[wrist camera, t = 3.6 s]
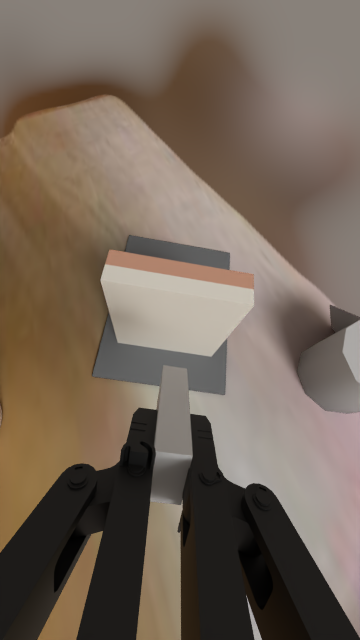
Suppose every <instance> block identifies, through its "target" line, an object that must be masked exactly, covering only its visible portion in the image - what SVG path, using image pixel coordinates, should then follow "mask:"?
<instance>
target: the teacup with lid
mask: <svg viewBox="0 0 360 640" xmlns="http://www.w3.org/2000/svg"><path fill="white" fill-rule="evenodd" d="M1 421H2V409H1V405H0V426H1Z"/></svg>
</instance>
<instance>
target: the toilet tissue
mask: <svg viewBox="0 0 360 640" xmlns="http://www.w3.org/2000/svg"><path fill="white" fill-rule="evenodd" d="M330 318H331V327H332V328H333V330H334V331H335V332H336V333H335V334H333V335H331V336H329V337H327V338H325V339H324V340H322V341H320V342H318V343H316V344H315V345H313V346H311V347H310V348H308V349H307V350H305V351H303V352H302V353H301V357H300V361H299V365H298V369H297V373H298V376H299V378H300V381H301V383H302V386H303V389H304V391H305V394H306V395H307V396H308V397H310V398H311V399H312V400H313V401H314V402H315V403H317V404H318V405H319V406H320V407H321V408H322V409H324V410H325V411H331V412H338V413H346V414H349V413H357V412H360V317H358V316H356V315H353V314H351V313H348V312H346V311H344V310H342V309H339V308H337V307H335V306H332V305H330Z"/></svg>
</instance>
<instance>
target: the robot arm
mask: <svg viewBox="0 0 360 640" xmlns="http://www.w3.org/2000/svg"><path fill="white" fill-rule="evenodd" d="M182 498H183V510H182V514H181V518H180V522H179V526H178V532H179V533H180V531H181V640H254V635H253V630H252V625H251V619H250V614H249V608H248V603H247V598H248V601H249V604H250V607H251V609H252V612H253V615H254V618H255V621H256V624H257V626H258V629H259V632H260V635H261V638H262V640H360V638H359V636H358V634H357V633H356V631H355V629H354V628H353V626H352V624H351V623H350V621H349V619H348V617H347V616H346V614H345V612H344V611H343V609H342V607H341V606H340V604H339V602H338V600H337V599H336V597H335V595H334V594H333V592H332V590H331V589H330V587H329V585H328V583H327V582H326V580H325V578H324V577H323V575H322V573H321V572H320V570H319V568H318V566H317V565H316V563H315V561H314V560H313V558H312V556H311V555H310V553H309V551H308V550H307V548H306V546H305V544H304V543H303V541H302V539H301V538H300V536H299V534H298V533H297V531H296V529H295V527H294V526H293V524H292V522H291V521H290V519H289V517H288V516H287V514H286V512H285V510H284V509H283V507H282V505H281V504H280V502H279V500H278V499H277V497H276V496H275V495H274V493H273V492H272V491H271V490H270V489H268V488H267V487H266V486H263V485H261V484H255V483H253V484H250V485H248V486H247V488H246V489H245V488H242V487H240V486H238V485H236V484H233V483H232V482H230V481H228V480H227V479H226V478H225V477H224V476H223V473H222V472H221V471H220V469H219V468H218V464H217V458H216V453H215V447H214V441H213V435H212V429H211V423H210V422H209V420H208V419H207V417H206V416H202V415H194V414H190V406H189V391H188V376H187V369H186V368H179V367H173V366H166V365H163V371H162V377H161V383H160V389H159V395H158V401H157V409H156V410H152V409H145V408H138V409H137V411H136V412H135V413H134V414H133V418H132V422H131V426H130V430H129V434H128V438H127V442H126V443H125V444H124V446H123V447H122V449H121V456H120V461H119V462H118V463H117V464H116V465H115V466H113V467H111V468H108V469H104V470H99V471H96V470H95V469H94V467H92V466H90V465H89V464H82V463H81V464H76V465H73V466H71V467H69V468H67V469H66V470H65V471H64V472H63V473H62V474H61V475H60V477H59V478H58V479H57V480H56V482H55V483H54V484H53V486H52V487H51V488H50V490H49V491H48V492H47V493H46V495H45V496H44V497H43V499H42V500H41V501H40V502H39V504H38V505H37V506H36V508H35V509H34V510H33V511H32V513H31V514H30V515H29V517H28V518H27V519H26V520H25V522H24V523H23V524H22V526H21V527H20V528H19V529H18V531H17V532H16V533H15V535H14V536H13V537H12V539H11V540H10V541H9V542H8V544H7V545H6V546H5V548H4V549H3V550H2V551H1V553H0V640H37V639H38V637H39V635H40V633H41V631H42V629H43V627H44V625H45V623H46V621H47V619H48V617H49V615H50V613H51V611H52V610H53V608H54V606H55V604H56V602H57V600H58V598H59V596H60V594H61V592H62V590H63V588H64V586H65V584H66V582H67V580H68V578H69V576H70V574H71V573H72V571H73V569H74V567H75V565H76V563H77V561H78V559H79V557H80V555H81V553H82V551H83V549H84V547H85V545H86V543H87V541H88V539H89V537H90V536H91V534H93V533H96V532H100V531H103V534H102V538H101V542H100V546H99V550H98V554H97V558H96V562H95V566H94V571H93V575H92V579H91V583H90V587H89V591H88V595H87V599H86V603H85V607H84V611H83V615H82V619H81V623H80V627H79V631H78V635H77V639H76V640H136V634H137V624H138V615H139V605H140V595H141V585H142V575H143V565H144V555H145V546H146V536H147V526H148V516H149V506H150V501H151V502H160V503H169V504H178V505H181V502H182ZM246 595H247V598H246Z"/></svg>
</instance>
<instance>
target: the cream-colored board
mask: <svg viewBox="0 0 360 640" xmlns="http://www.w3.org/2000/svg"><path fill="white" fill-rule="evenodd" d="M100 281H101V284H102V288H103V291H104V295H105V299H106V302H107V306H108V309H109V313H110V317H111V320H112V324H113V327H114V331H115V335H116V338H117V342H118V343H123V344H129V345H136V346H143V347H150V348H156V349H163V350H170V351H176V352H183V353H190V354H197V355H203V356H210V357H212V355H213V354H214V353H215V352H216V351H217V349H218V348H219V347H220V346H221V345H222V343H223V342H224V341H225V340H226V339H227V337H228V336H229V335H230V334H231V333H232V331H233V330H234V329H235V328H236V327H237V325H238V324H239V323H240V322H241V321H242V319H243V318H244V317H245V316H246V315H247V313H248V312H249V311H250V310H251V309H252V307H253V306H254V274H249V273H243V272H237V271H231V270H226V269H220V268H214V267H208V266H203V265H197V264H191V263H185V262H180V261H174V260H168V259H162V258H157V257H151V256H145V255H139V254H134V253H128V252H122V251H116V250H109V253H108V256H107V260H106V263H105V266H104V270H103V273H102V276H101V280H100Z"/></svg>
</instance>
